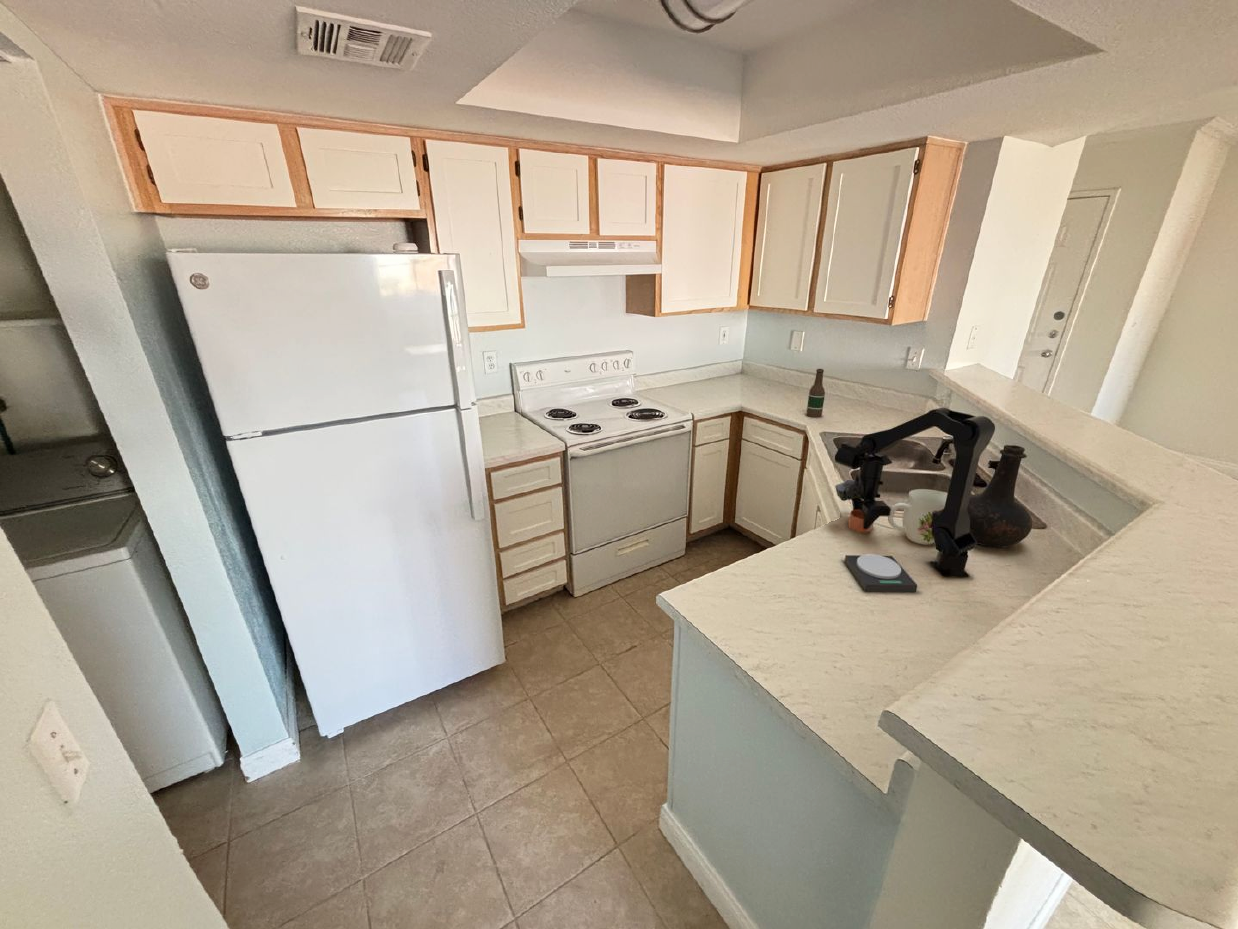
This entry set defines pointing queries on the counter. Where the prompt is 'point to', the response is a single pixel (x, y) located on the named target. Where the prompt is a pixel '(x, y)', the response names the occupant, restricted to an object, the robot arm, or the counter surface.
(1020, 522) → the dark brown vase
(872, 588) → the scale
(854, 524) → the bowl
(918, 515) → the pitcher
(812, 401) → the beer bottle
